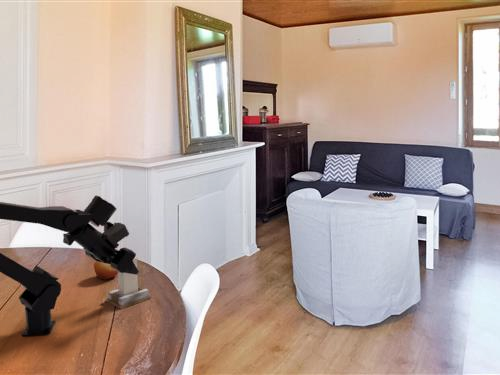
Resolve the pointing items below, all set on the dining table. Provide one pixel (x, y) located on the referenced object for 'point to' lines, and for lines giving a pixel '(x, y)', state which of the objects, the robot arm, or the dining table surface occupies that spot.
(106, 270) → the fruit
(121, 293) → the tall cream box
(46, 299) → the robot arm
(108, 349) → the dining table surface
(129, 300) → the track
